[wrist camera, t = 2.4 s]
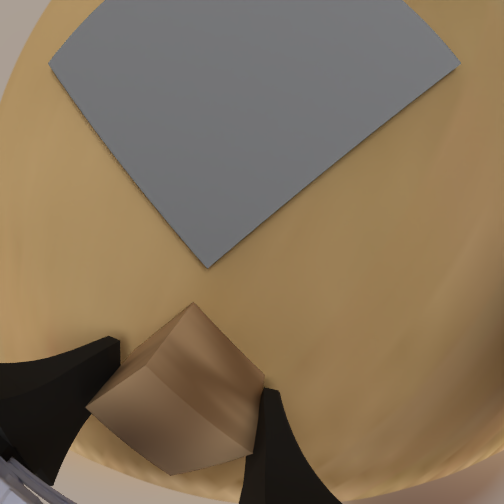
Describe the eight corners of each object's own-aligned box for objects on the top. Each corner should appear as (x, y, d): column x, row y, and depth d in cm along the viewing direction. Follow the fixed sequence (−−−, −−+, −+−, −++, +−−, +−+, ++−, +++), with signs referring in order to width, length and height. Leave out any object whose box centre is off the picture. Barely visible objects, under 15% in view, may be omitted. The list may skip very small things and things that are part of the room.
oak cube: (264, 374, 12) (252, 453, 7) (197, 409, 13) (170, 475, 9) (193, 302, 11) (146, 365, 7) (133, 350, 13) (85, 407, 8)
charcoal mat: (455, 66, 8) (461, 63, 7) (210, 265, 11) (207, 268, 10) (248, -82, 6) (247, -87, 6) (53, 65, 9) (48, 63, 9)
